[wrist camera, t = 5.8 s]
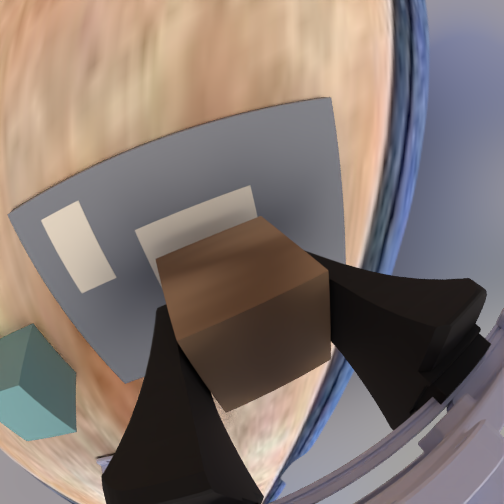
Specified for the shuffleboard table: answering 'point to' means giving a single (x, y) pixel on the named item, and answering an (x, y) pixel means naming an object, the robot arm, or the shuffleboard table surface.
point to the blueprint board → (179, 215)
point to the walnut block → (248, 310)
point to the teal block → (35, 387)
